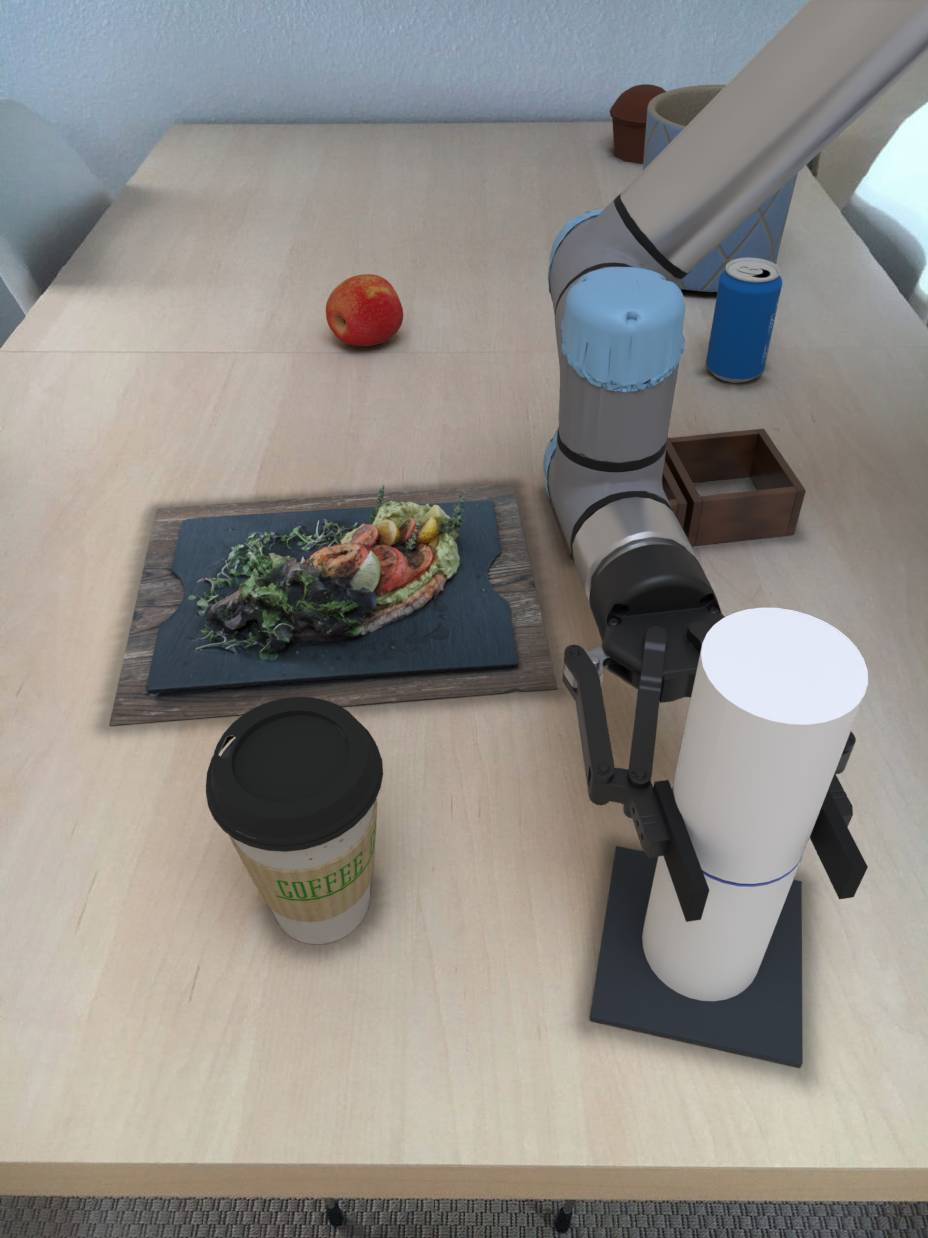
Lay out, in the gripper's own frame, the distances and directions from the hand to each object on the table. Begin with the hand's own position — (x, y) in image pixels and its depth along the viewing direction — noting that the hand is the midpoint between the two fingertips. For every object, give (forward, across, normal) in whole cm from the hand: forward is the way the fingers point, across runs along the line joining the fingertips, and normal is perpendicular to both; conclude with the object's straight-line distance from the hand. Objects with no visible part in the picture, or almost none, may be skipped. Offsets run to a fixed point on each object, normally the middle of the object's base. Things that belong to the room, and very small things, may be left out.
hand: (775, 894), depth 48 cm
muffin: (-143, -35, -15) cm, 148 cm away
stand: (-48, -11, -14) cm, 51 cm away
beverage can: (-72, -26, -15) cm, 78 cm away
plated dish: (-42, +20, -15) cm, 49 cm away
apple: (-86, +14, -15) cm, 89 cm away
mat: (-5, 0, -15) cm, 15 cm away
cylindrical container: (-5, 0, -14) cm, 15 cm away
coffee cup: (-12, +23, -15) cm, 30 cm away
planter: (-98, -31, -15) cm, 104 cm away
